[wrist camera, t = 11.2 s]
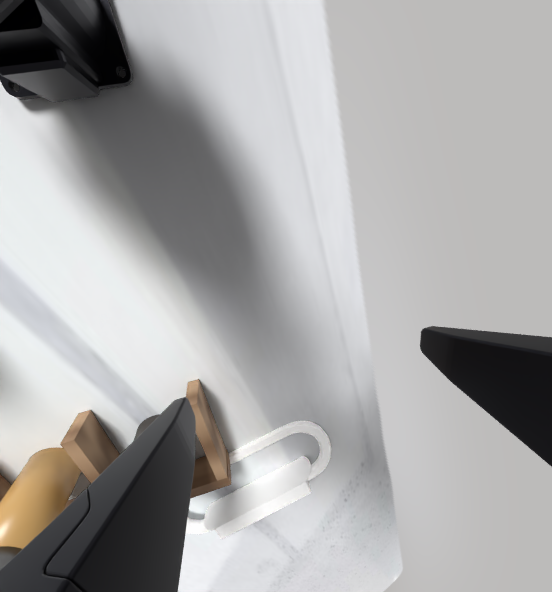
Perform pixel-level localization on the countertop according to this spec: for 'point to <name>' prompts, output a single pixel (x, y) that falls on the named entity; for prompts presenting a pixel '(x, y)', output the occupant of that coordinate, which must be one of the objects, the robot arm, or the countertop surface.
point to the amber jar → (35, 499)
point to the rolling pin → (265, 484)
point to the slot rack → (101, 453)
